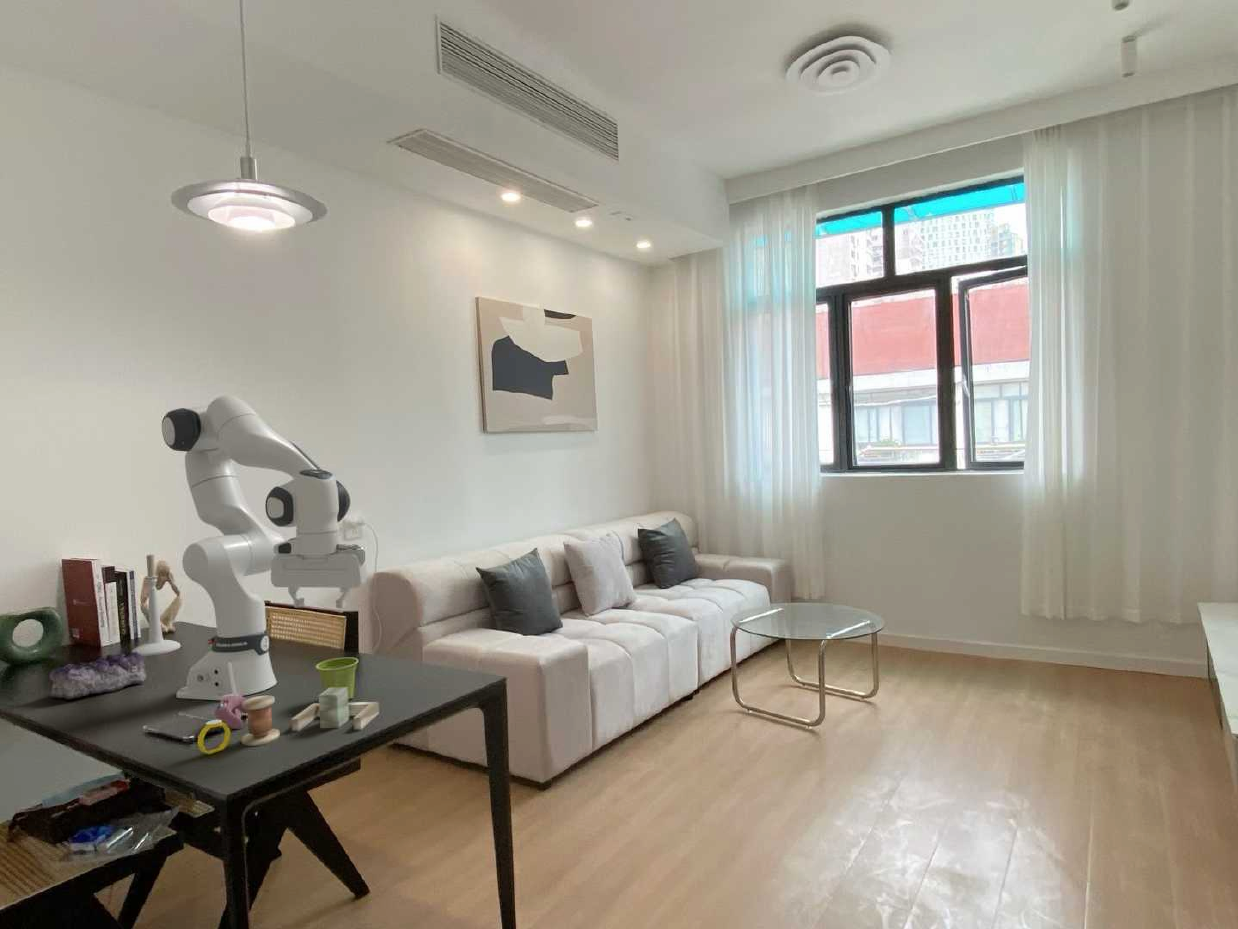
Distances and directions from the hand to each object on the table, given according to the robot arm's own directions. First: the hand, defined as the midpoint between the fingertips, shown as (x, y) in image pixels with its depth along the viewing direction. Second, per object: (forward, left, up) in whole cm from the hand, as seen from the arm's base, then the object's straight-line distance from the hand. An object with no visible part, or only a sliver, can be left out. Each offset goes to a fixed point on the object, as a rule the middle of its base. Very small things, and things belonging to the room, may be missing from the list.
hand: (320, 607), depth 163 cm
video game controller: (-20, -2, -25) cm, 32 cm away
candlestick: (-83, +61, -25) cm, 106 cm away
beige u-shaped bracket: (+4, -3, -24) cm, 25 cm away
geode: (-71, +23, -25) cm, 78 cm away
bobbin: (-8, -11, -24) cm, 28 cm away
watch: (-14, -17, -25) cm, 34 cm away
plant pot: (-2, +12, -25) cm, 27 cm away
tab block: (+4, -4, -25) cm, 25 cm away
